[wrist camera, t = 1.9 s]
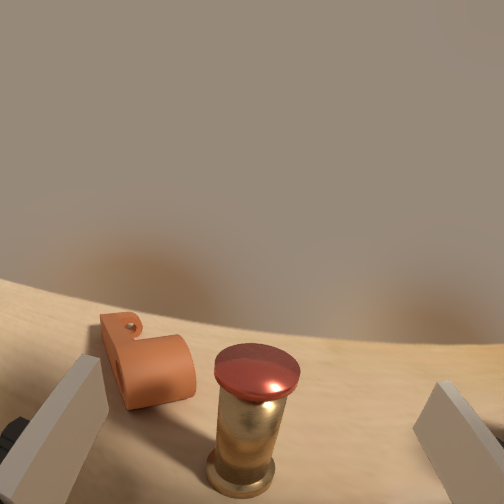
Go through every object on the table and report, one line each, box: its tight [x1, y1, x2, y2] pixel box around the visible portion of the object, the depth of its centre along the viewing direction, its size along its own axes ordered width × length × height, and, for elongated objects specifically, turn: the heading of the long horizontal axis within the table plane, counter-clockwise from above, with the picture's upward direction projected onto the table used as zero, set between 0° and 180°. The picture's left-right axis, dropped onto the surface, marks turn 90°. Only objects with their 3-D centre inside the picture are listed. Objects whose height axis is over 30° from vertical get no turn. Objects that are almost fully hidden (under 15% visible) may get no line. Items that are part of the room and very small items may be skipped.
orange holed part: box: [100, 312, 196, 410], centre depth 38 cm, size 20×8×8 cm, turn 33°
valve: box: [206, 343, 300, 499], centre depth 23 cm, size 6×6×14 cm
